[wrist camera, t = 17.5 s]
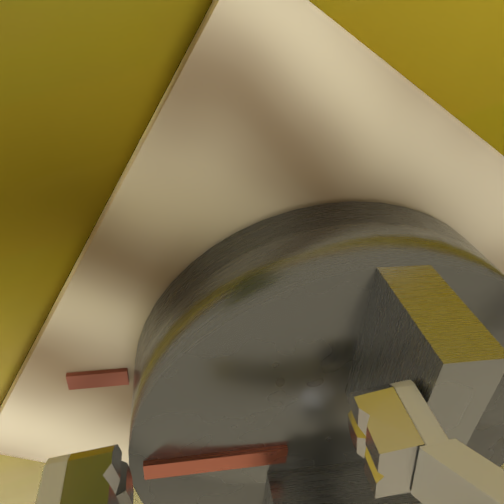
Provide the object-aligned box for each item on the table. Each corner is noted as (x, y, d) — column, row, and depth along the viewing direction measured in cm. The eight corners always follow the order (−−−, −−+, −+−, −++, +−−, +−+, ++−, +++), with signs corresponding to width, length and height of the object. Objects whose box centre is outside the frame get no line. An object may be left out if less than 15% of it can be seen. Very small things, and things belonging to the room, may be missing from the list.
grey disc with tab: (552, 197, 17) (777, 334, 11) (434, 450, 25) (520, 607, 19) (115, 205, 14) (76, 396, 8) (147, 486, 23) (141, 682, 17)
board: (239, -50, 12) (246, -51, 11) (622, 254, 21) (648, 271, 20) (-11, 427, 21) (-21, 454, 20) (340, 499, 30) (347, 521, 29)
